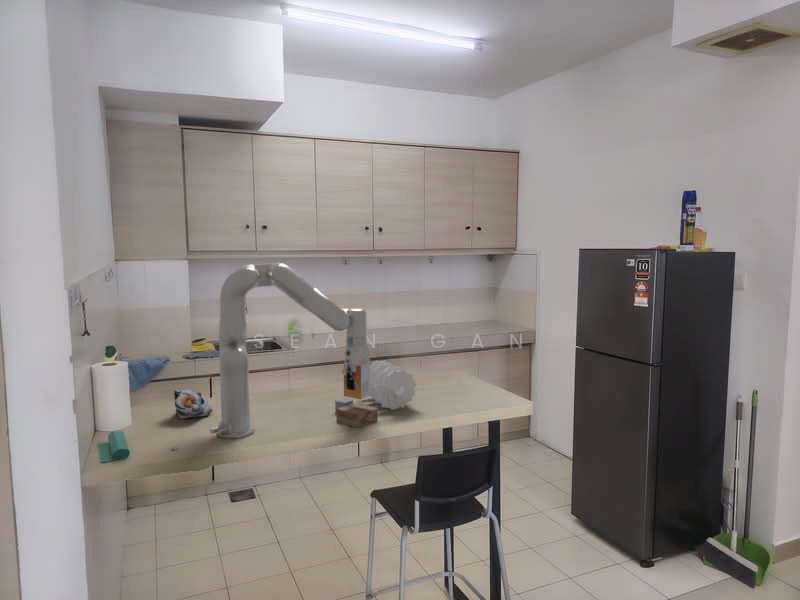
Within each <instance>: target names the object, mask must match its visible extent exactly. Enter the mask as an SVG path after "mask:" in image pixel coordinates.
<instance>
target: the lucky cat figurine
mask: <svg viewBox="0 0 800 600" xmlns="http://www.w3.org/2000/svg"><path fill="white" fill-rule="evenodd" d="M179 389H180V388H175V389H174V390H173V395H174V406H175V415H176V417H178V418H179V419H180V420H184V419H188V418H198V417H209V416H210V414H211V413H212V412H213V411H214V409H213V408H212V407H211V406H210V405H209V403H208V400H207V399H206V398H205V397H203V396H202V392H200V391H197V392H196V391H193V390H192V389H189V388H188V389H187V388H185V389H181V390H179Z"/></svg>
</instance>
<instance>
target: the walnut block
mask: <svg viewBox="0 0 800 600" xmlns="http://www.w3.org/2000/svg"><path fill="white" fill-rule="evenodd" d="M336 421H337V422H339V421H340V423H342V422H343V423H342V424H345V423H346V424H345V425H347V424H348V425H347V426H350V425H351V426H350V427H353V426H354V427H353V428H359V427H362V426H365V425H368V424H370V422H372V423H373V421H375V422H377V421H378V408H376V407H373V406H371V405H367V404H364V403H360V402H356V403H353V404H351V405H348V406H344V407H341V408H337V413H336ZM367 423H368V424H367ZM364 424H365V425H364ZM361 425H362V426H361ZM358 426H359V427H358Z"/></svg>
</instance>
